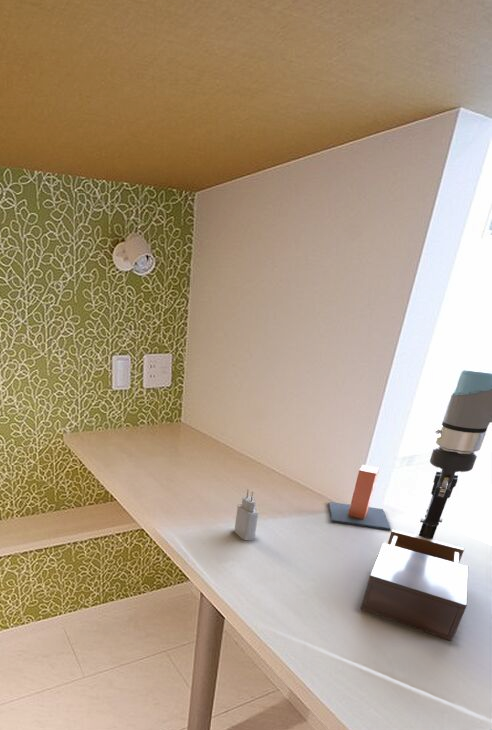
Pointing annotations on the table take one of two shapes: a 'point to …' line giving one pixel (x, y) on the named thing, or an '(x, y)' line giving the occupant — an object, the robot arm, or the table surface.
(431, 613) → the cabinet
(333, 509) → the felt mat
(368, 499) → the reddish brown rectangular block
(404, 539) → the drawer
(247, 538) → the power adapter
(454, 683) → the table surface
